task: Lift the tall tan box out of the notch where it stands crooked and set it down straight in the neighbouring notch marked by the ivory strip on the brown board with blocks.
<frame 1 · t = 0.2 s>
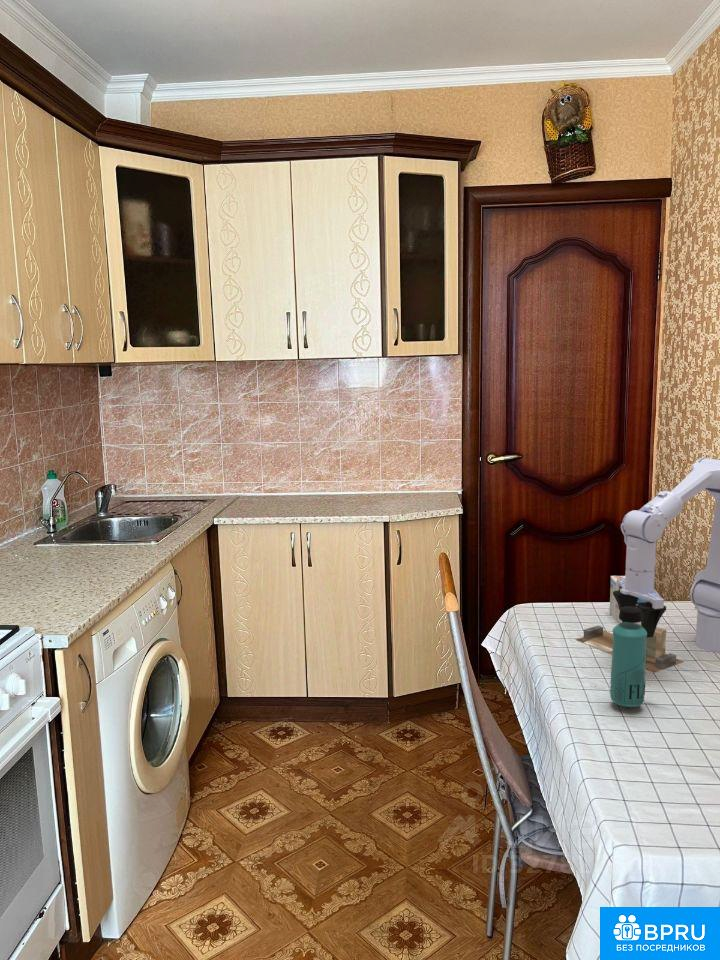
hand: (637, 630, 161), 10 cm above the table, tool pointing down, fingers open, 7 cm apart
beverage bottle: (626, 707, 148), on the table
tall tan box: (646, 657, 169), point 1 cm above the table, touching brown board with blocks
light bulb box: (627, 623, 192), on the table
brown board with blocks: (627, 653, 173), on the table
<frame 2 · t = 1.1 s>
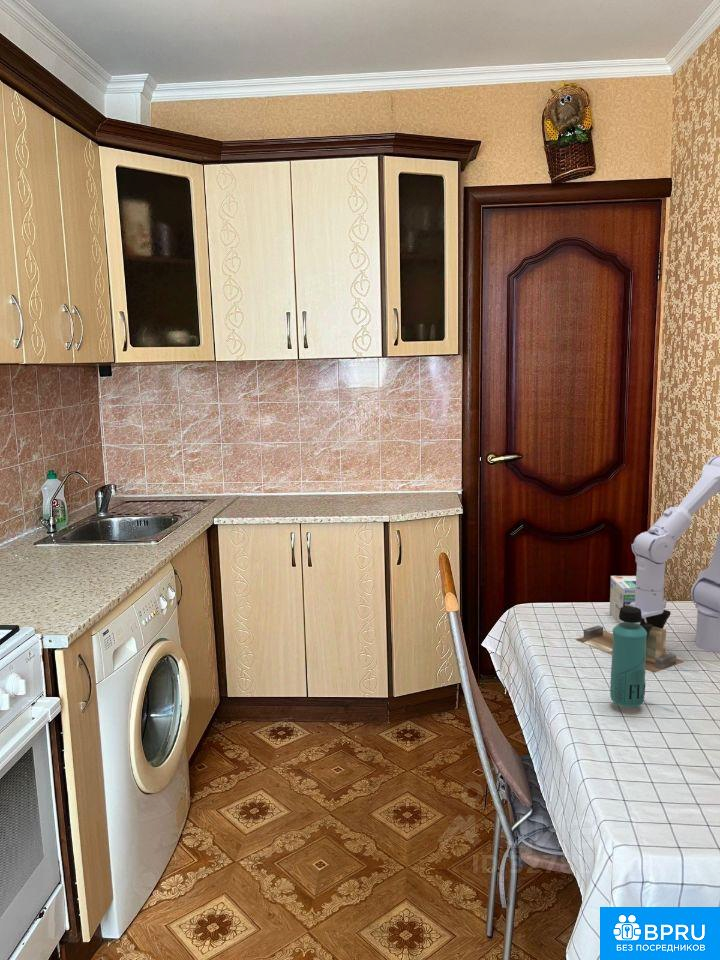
hand: (646, 646, 168), 3 cm above the table, tool pointing down, fingers open, 7 cm apart
nothing on the table moved.
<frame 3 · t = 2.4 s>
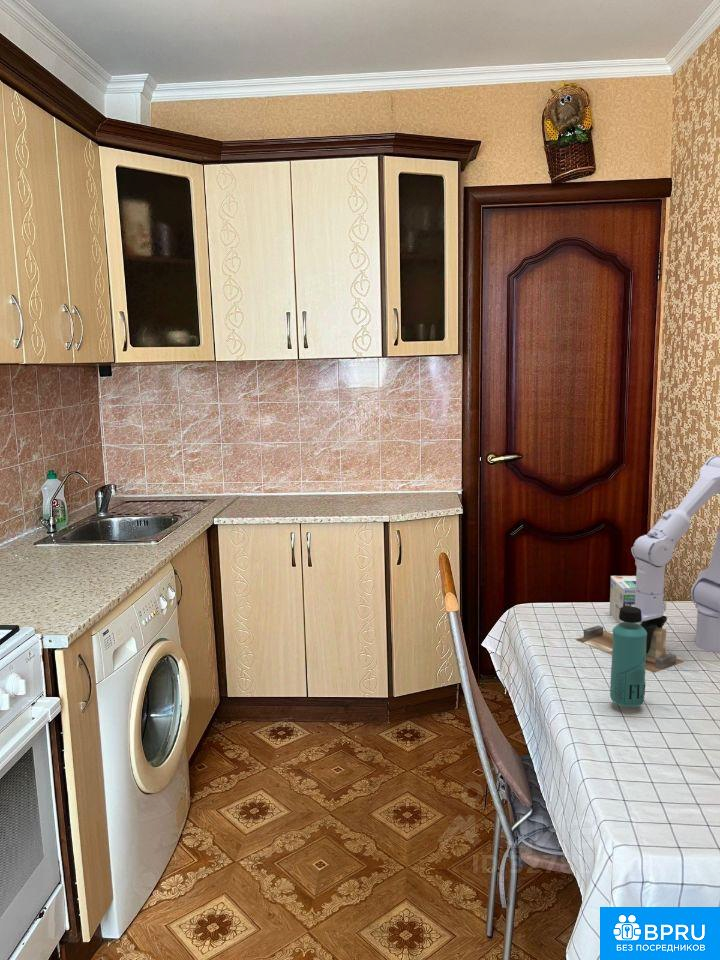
hand: (646, 649, 169), 3 cm above the table, tool pointing down, fingers closed on tall tan box, 3 cm apart
tall tan box: (646, 657, 169), point 1 cm above the table, touching gripper, brown board with blocks
everything else where it was.
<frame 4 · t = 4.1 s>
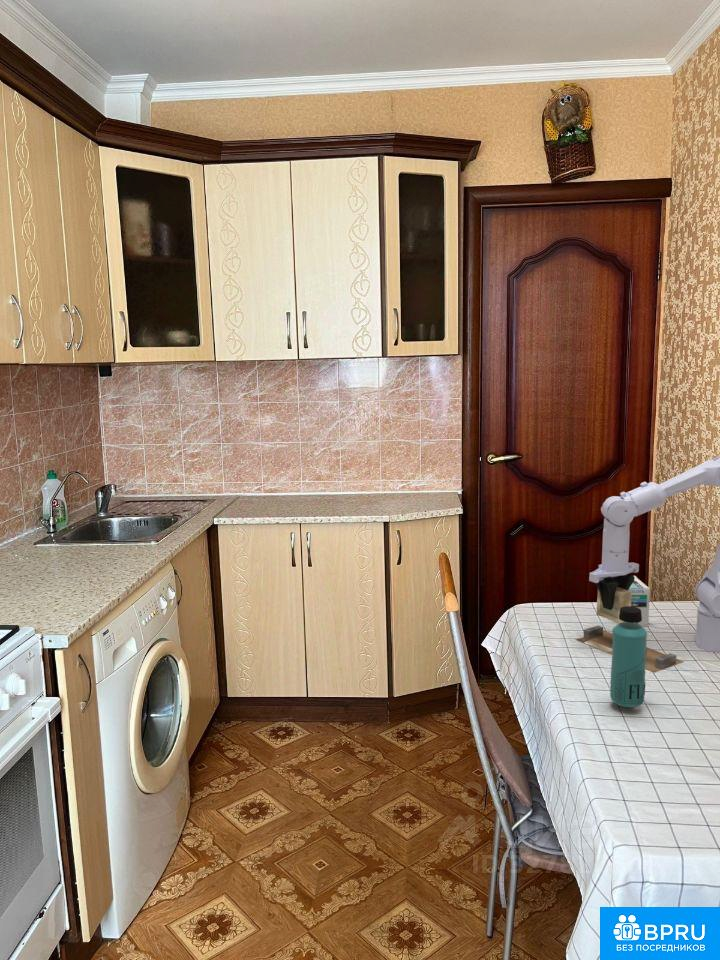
hand: (612, 606, 175), 10 cm above the table, tool pointing down, fingers closed on tall tan box, 3 cm apart
tall tan box: (613, 617, 176), point 7 cm above the table, touching gripper
everything else where it was.
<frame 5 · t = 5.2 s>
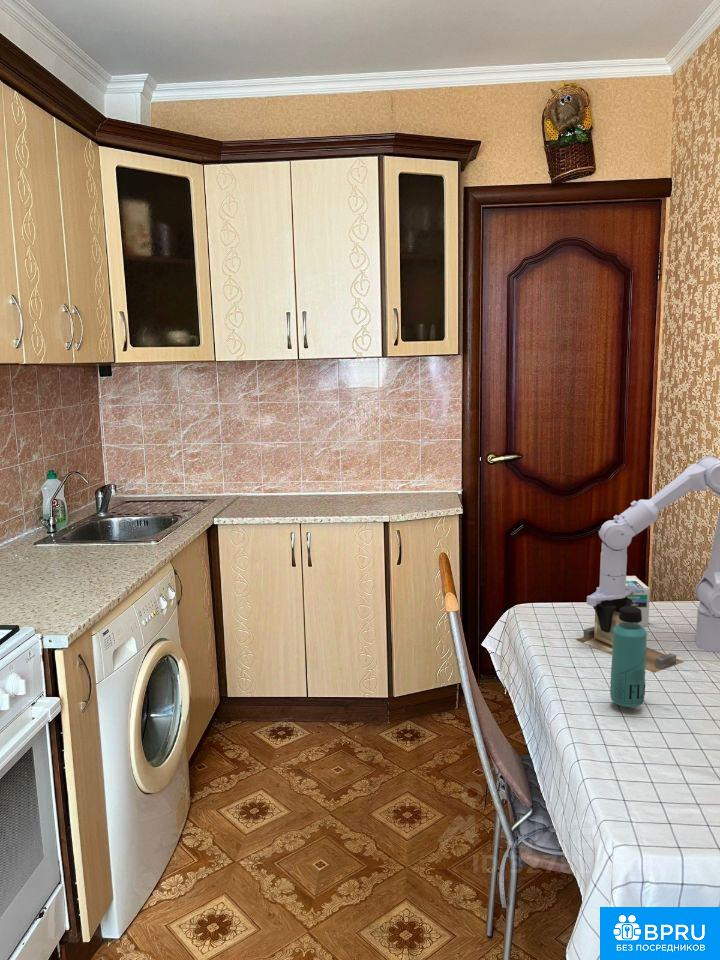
hand: (610, 629, 177), 4 cm above the table, tool pointing down, fingers closed on tall tan box, 3 cm apart
tall tan box: (610, 641, 177), point 1 cm above the table, touching gripper
everything else where it was.
when the fingers open (4 cm above the table, at t = 6.0 s): tall tan box stays where it is, resting on brown board with blocks.
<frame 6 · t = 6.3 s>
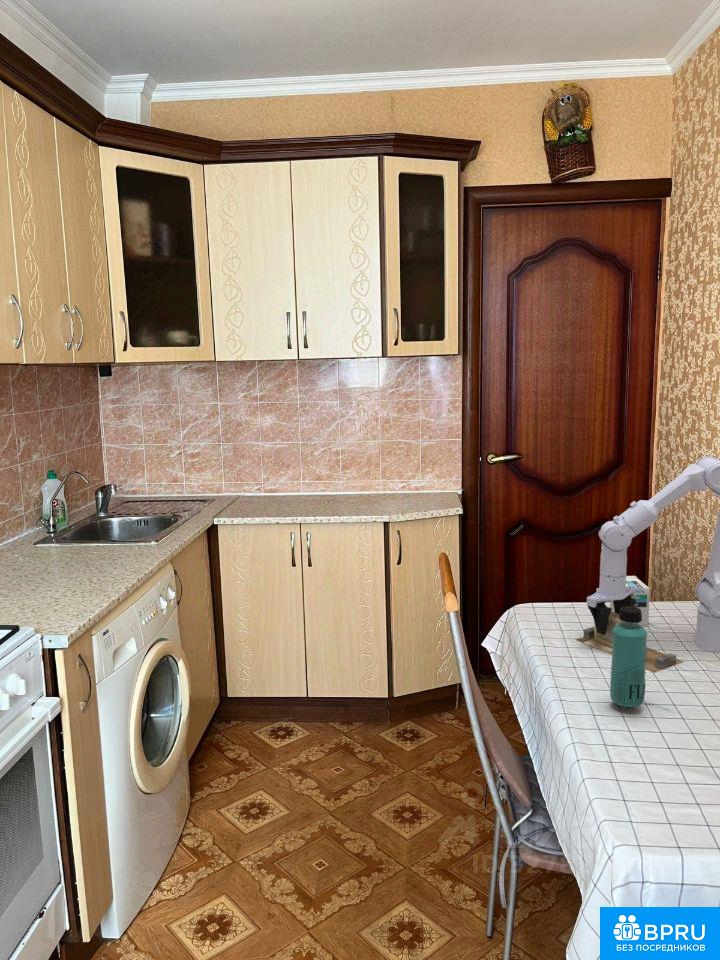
hand: (610, 630, 177), 4 cm above the table, tool pointing down, fingers open, 6 cm apart
tall tan box: (610, 643, 177), point 1 cm above the table, touching brown board with blocks
everything else where it was.
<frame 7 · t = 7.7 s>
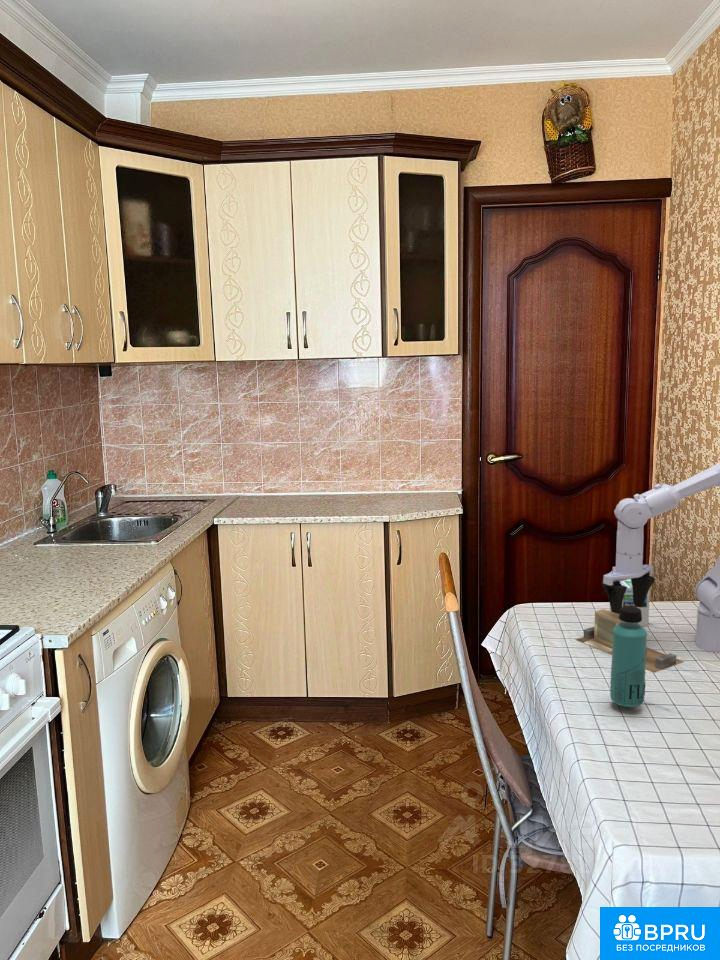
hand: (627, 609, 175), 9 cm above the table, tool pointing down, fingers open, 7 cm apart
nothing on the table moved.
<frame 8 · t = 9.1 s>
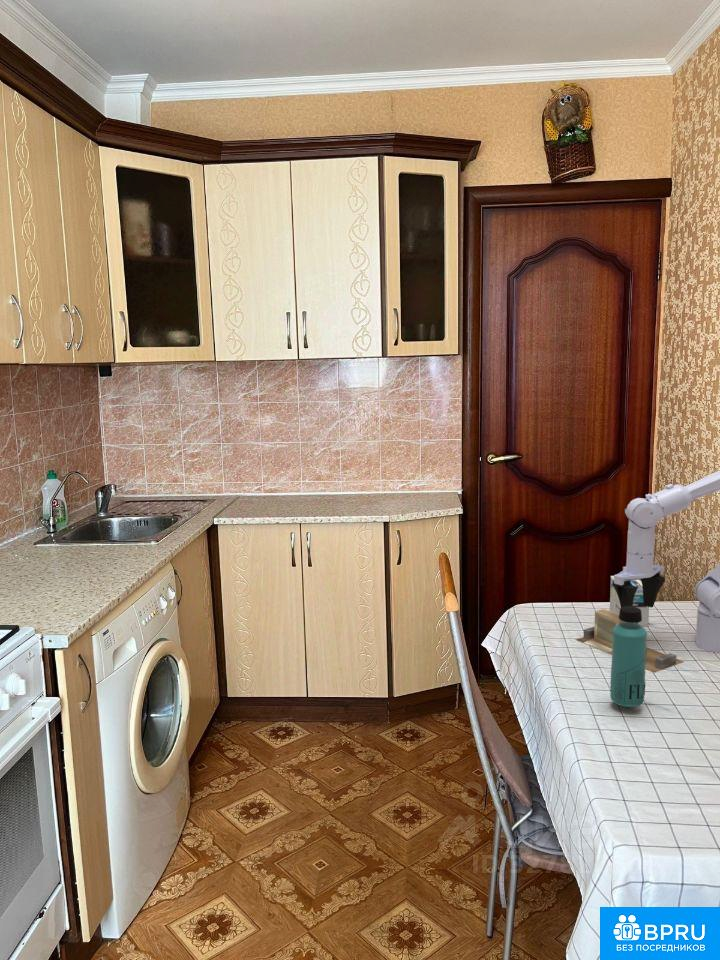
hand: (637, 609, 175), 9 cm above the table, tool pointing down, fingers open, 7 cm apart
nothing on the table moved.
at the end: tall tan box 0.0 cm from the target spot on the brown board with blocks, point 0.8 cm above the brown board with blocks's base; tall tan box tilted 0°; the gripper is holding nothing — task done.
